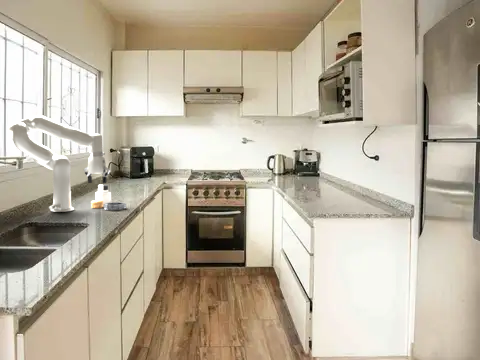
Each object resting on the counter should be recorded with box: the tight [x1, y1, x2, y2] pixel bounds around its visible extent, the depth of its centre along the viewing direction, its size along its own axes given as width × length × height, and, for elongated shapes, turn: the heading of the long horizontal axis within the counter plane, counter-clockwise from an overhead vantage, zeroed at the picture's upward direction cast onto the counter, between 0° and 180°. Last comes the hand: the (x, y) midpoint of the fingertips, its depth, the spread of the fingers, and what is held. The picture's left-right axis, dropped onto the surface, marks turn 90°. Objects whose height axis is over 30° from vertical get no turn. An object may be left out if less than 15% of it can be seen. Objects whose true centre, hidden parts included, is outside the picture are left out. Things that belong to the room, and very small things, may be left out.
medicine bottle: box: [95, 184, 112, 205], centre depth 303 cm, size 7×7×12 cm
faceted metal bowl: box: [103, 201, 127, 211], centre depth 282 cm, size 13×13×3 cm
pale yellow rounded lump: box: [90, 199, 104, 209], centre depth 287 cm, size 7×7×4 cm
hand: (97, 183), depth 286 cm, fingers open, 9 cm apart
